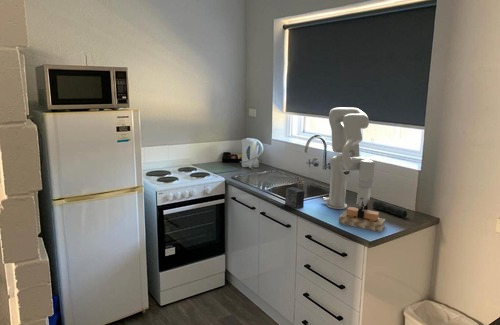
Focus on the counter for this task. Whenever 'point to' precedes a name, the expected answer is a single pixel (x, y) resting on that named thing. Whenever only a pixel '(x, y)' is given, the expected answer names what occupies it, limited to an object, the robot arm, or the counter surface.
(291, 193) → the small box
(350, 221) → the slotted tan block
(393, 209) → the flashlight
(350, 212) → the tan wedge board
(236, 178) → the counter surface
